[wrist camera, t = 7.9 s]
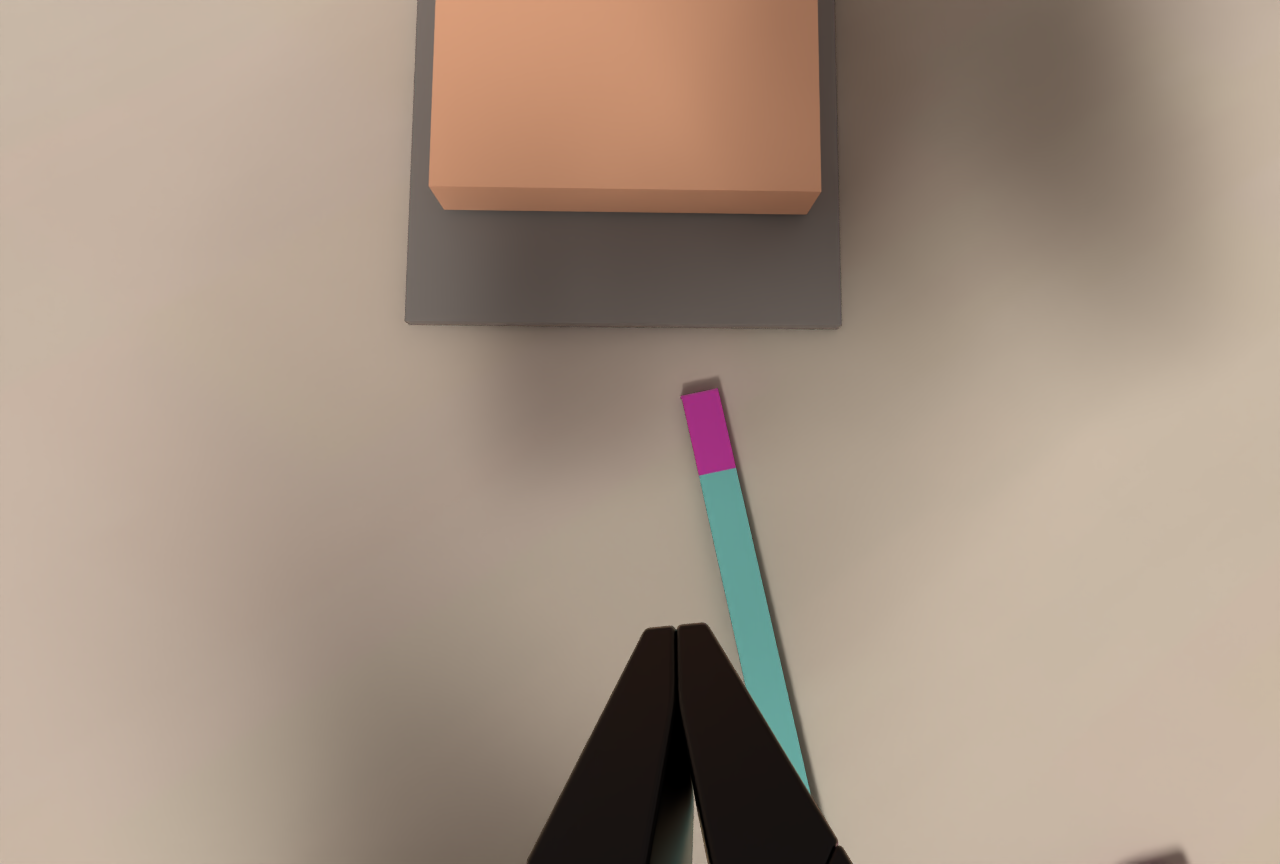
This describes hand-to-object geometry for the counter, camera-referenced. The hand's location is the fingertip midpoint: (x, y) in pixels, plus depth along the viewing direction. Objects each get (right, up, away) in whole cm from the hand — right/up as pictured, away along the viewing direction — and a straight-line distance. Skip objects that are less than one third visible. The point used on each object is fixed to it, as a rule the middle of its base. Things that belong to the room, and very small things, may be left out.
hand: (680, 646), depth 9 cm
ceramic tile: (-1, +15, +9) cm, 18 cm away
